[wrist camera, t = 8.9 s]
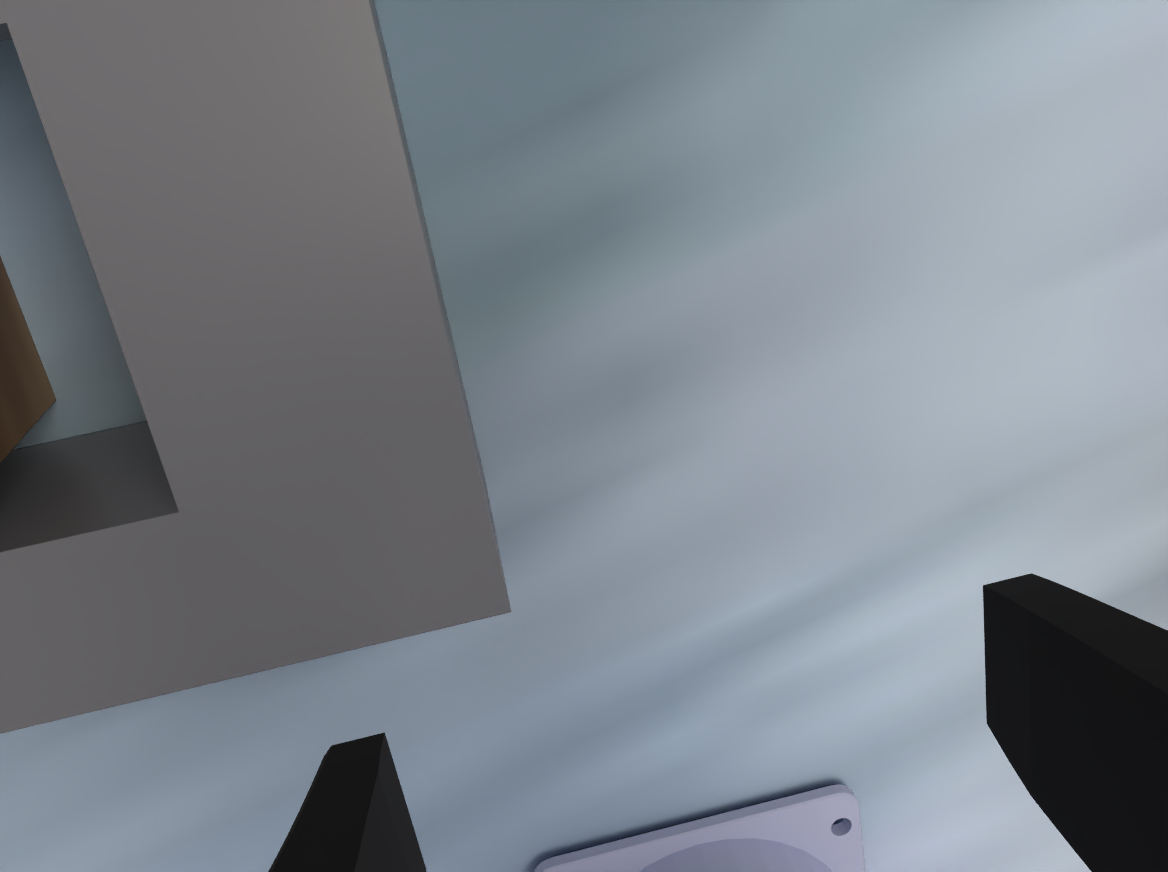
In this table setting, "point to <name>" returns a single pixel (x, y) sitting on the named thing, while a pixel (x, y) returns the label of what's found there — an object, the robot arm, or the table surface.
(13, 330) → the walnut block
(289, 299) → the well block
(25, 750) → the table surface
